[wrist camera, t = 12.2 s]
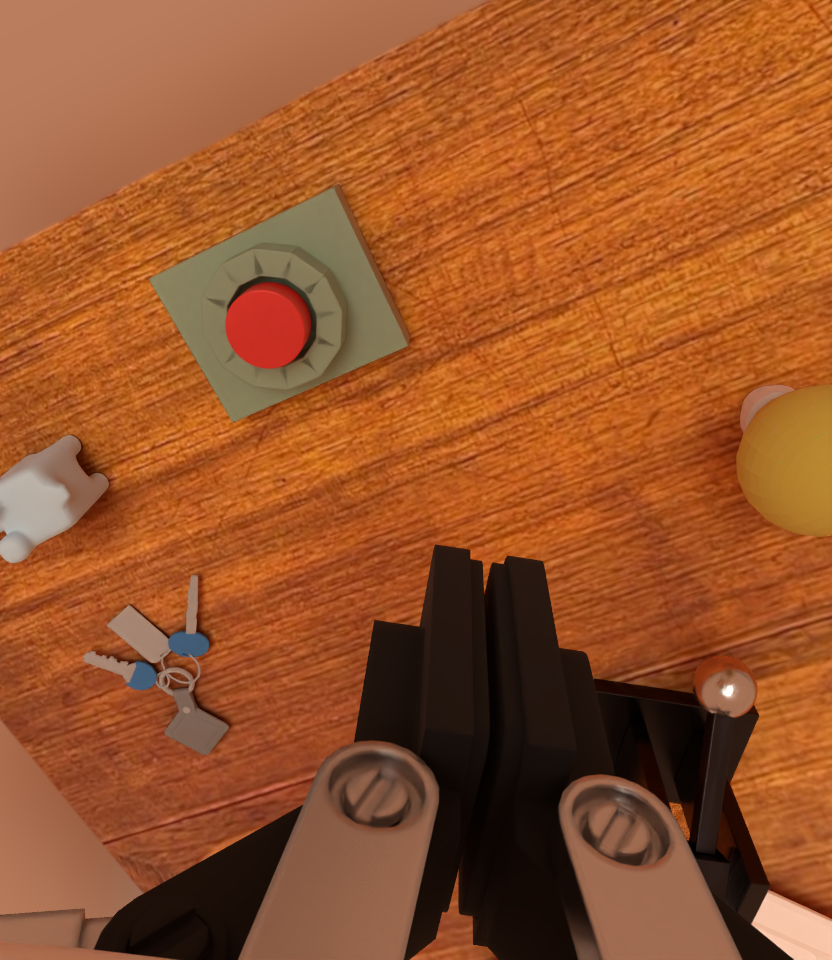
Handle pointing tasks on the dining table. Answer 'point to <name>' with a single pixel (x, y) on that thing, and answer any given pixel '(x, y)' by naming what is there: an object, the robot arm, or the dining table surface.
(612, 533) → the dining table surface
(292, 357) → the button
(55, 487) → the figurine
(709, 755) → the lever
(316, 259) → the control block
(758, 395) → the light bulb
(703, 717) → the switch bracket
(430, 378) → the dining table surface
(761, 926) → the plate
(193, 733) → the key chain
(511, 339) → the dining table surface
